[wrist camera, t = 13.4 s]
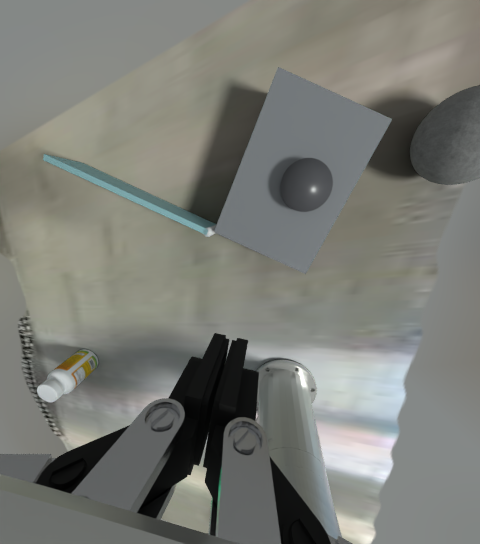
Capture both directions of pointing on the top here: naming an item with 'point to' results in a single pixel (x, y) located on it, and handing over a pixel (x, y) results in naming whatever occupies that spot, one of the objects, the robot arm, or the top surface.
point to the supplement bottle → (68, 375)
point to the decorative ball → (449, 140)
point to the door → (134, 194)
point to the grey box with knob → (298, 170)
